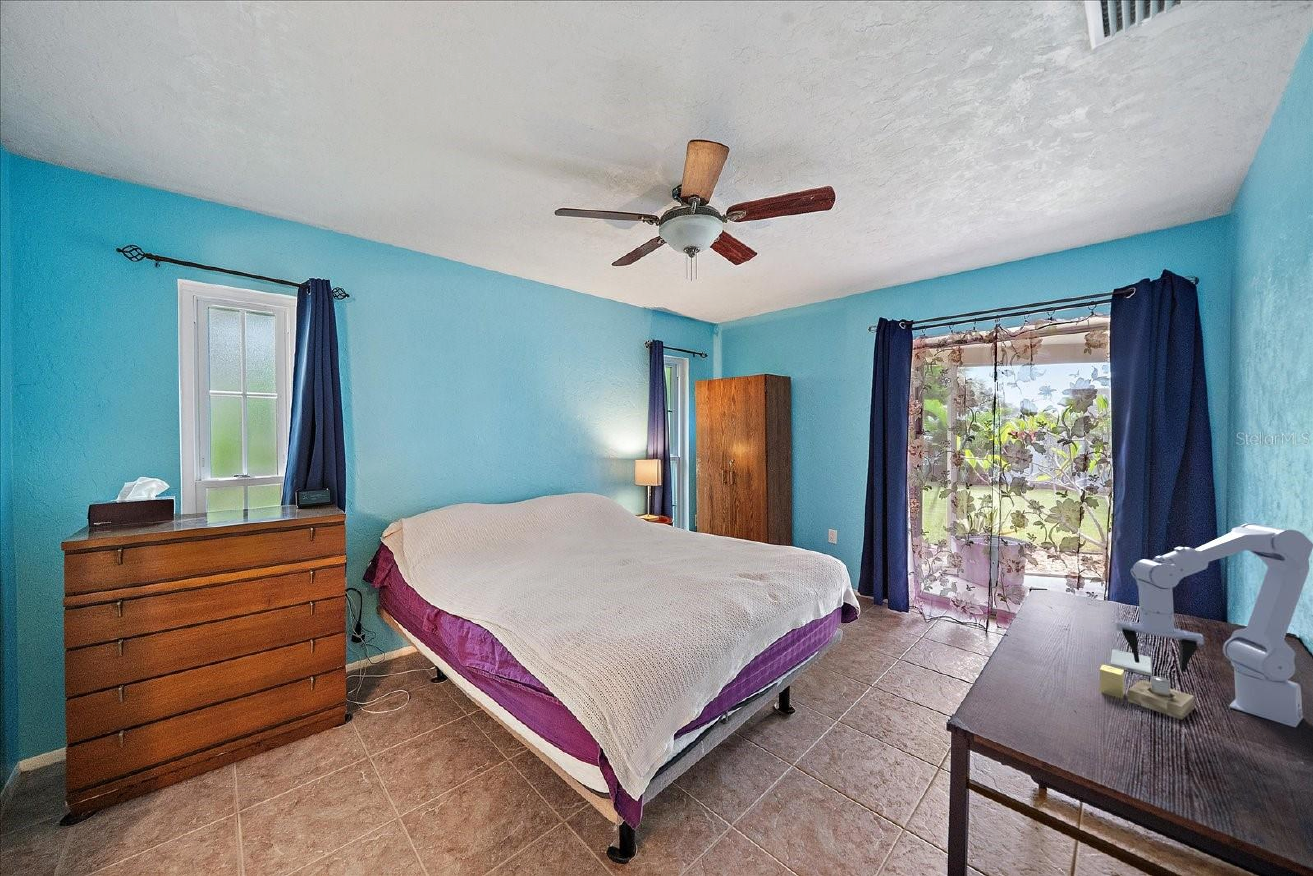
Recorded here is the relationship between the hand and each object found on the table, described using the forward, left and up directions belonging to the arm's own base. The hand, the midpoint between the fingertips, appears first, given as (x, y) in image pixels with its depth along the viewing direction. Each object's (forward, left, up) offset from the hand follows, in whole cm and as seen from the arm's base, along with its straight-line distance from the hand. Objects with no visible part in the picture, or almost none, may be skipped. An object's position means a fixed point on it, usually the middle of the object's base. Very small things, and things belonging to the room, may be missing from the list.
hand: (1159, 665), depth 113 cm
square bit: (+8, +3, -10) cm, 13 cm away
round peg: (0, 0, -9) cm, 9 cm away
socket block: (0, 0, -10) cm, 10 cm away
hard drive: (+12, -22, -10) cm, 27 cm away
